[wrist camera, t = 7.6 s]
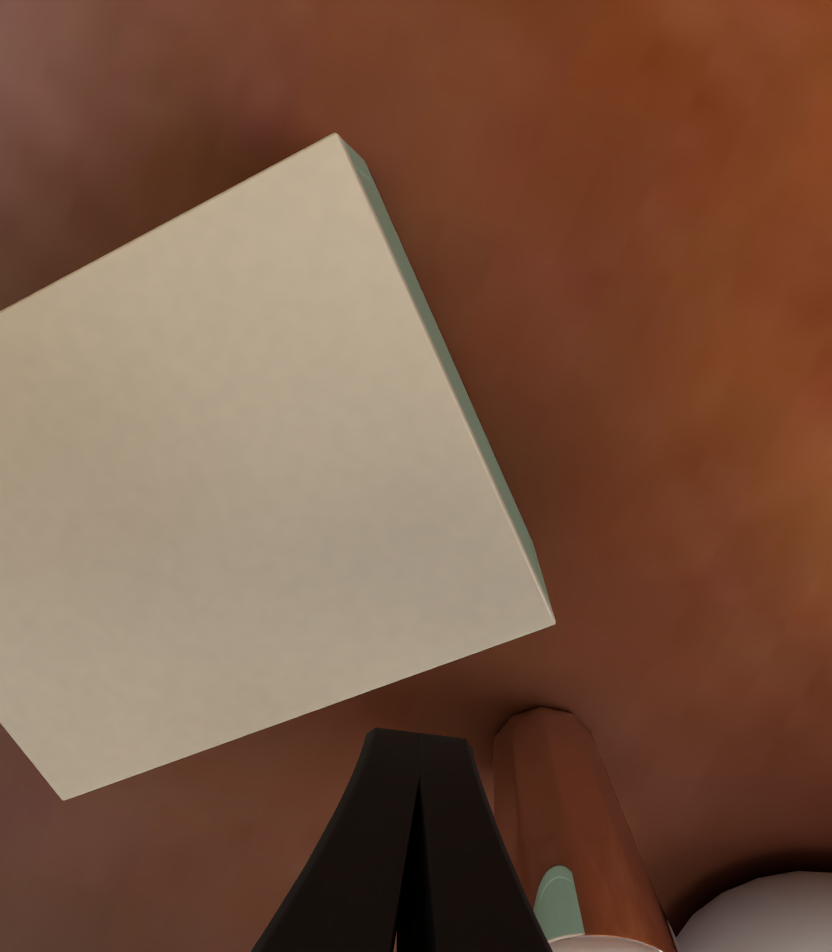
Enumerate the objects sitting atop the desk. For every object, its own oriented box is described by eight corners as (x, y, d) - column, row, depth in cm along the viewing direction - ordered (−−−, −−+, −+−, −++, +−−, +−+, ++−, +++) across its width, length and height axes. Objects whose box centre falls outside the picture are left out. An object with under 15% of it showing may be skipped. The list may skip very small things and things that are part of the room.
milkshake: (539, 646, 20) (621, 998, 11) (641, 754, 21) (793, 1155, 12) (428, 722, 21) (414, 1101, 12) (530, 820, 23) (590, 1235, 13)
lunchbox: (153, 690, 21) (99, 775, 18) (-63, 380, 18) (-179, 412, 15) (533, 544, 19) (552, 609, 16) (363, 158, 16) (341, 135, 12)
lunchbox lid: (74, 784, 18) (62, 802, 18) (-206, 427, 15) (-233, 434, 14) (552, 611, 16) (556, 624, 15) (340, 135, 12) (336, 130, 12)
